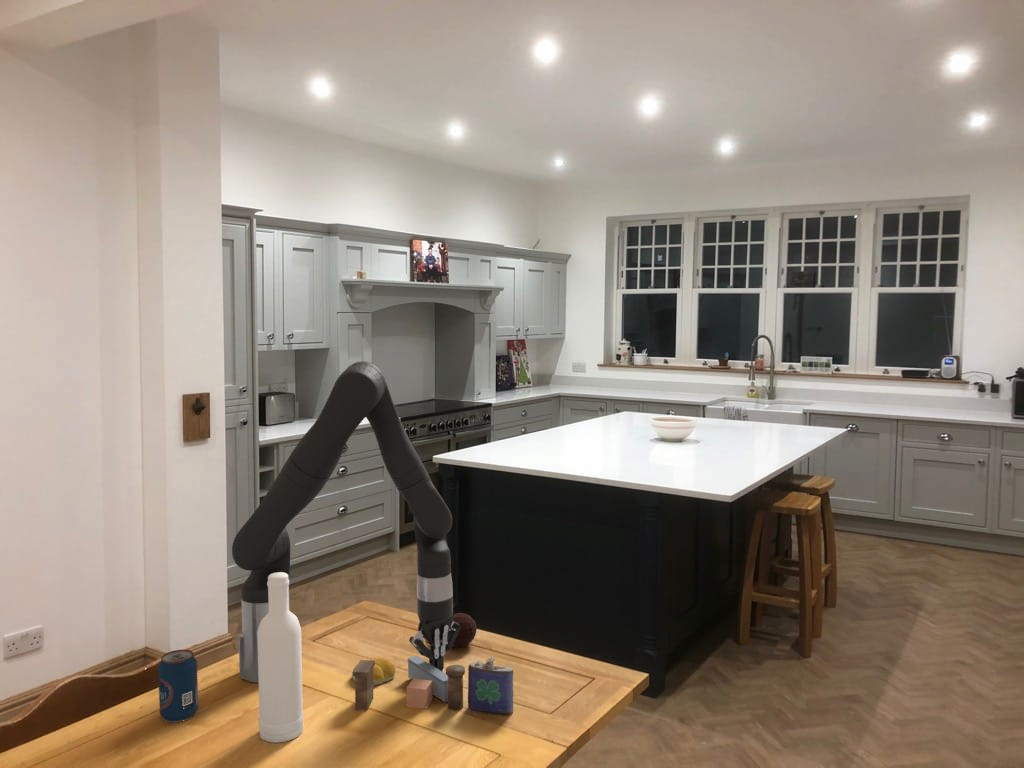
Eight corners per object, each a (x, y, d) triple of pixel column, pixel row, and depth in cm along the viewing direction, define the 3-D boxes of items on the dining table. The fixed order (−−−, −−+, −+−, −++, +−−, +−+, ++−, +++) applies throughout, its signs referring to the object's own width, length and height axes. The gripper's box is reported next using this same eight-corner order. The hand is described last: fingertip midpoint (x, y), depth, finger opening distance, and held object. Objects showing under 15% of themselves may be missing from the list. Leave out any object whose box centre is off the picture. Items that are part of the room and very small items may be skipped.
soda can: (153, 716, 156) (151, 656, 155) (187, 703, 162) (185, 645, 161) (170, 728, 152) (168, 666, 151) (205, 714, 157) (203, 654, 156)
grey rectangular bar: (453, 699, 163) (453, 678, 162) (444, 703, 161) (444, 681, 161) (416, 675, 174) (416, 655, 174) (407, 678, 173) (407, 658, 172)
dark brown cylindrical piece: (444, 711, 159) (444, 672, 158) (447, 702, 162) (447, 664, 162) (463, 711, 158) (463, 673, 158) (466, 702, 162) (466, 665, 161)
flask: (514, 710, 159) (514, 657, 158) (510, 717, 156) (510, 663, 155) (470, 704, 162) (469, 652, 161) (465, 711, 159) (465, 658, 158)
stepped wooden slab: (353, 710, 159) (353, 672, 158) (360, 697, 164) (360, 659, 164) (368, 710, 159) (368, 672, 158) (375, 697, 164) (374, 660, 164)
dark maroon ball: (475, 637, 196) (475, 606, 195) (478, 652, 186) (478, 620, 186) (441, 638, 194) (441, 607, 194) (443, 654, 185) (443, 622, 185)
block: (425, 709, 160) (425, 689, 159) (406, 706, 161) (406, 687, 160) (432, 699, 164) (432, 680, 163) (413, 697, 165) (413, 678, 164)
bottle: (310, 723, 154) (307, 569, 151) (292, 745, 146) (289, 583, 143) (271, 720, 155) (267, 567, 152) (251, 741, 147) (247, 580, 145)
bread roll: (402, 677, 174) (402, 659, 174) (368, 690, 168) (368, 672, 167) (379, 665, 180) (378, 648, 180) (345, 678, 173) (345, 660, 173)
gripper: (421, 606, 163) (423, 689, 165) (469, 590, 173) (471, 668, 174) (398, 598, 169) (401, 677, 170) (446, 582, 178) (448, 658, 180)
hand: (436, 672), depth 172 cm, fingers closed
